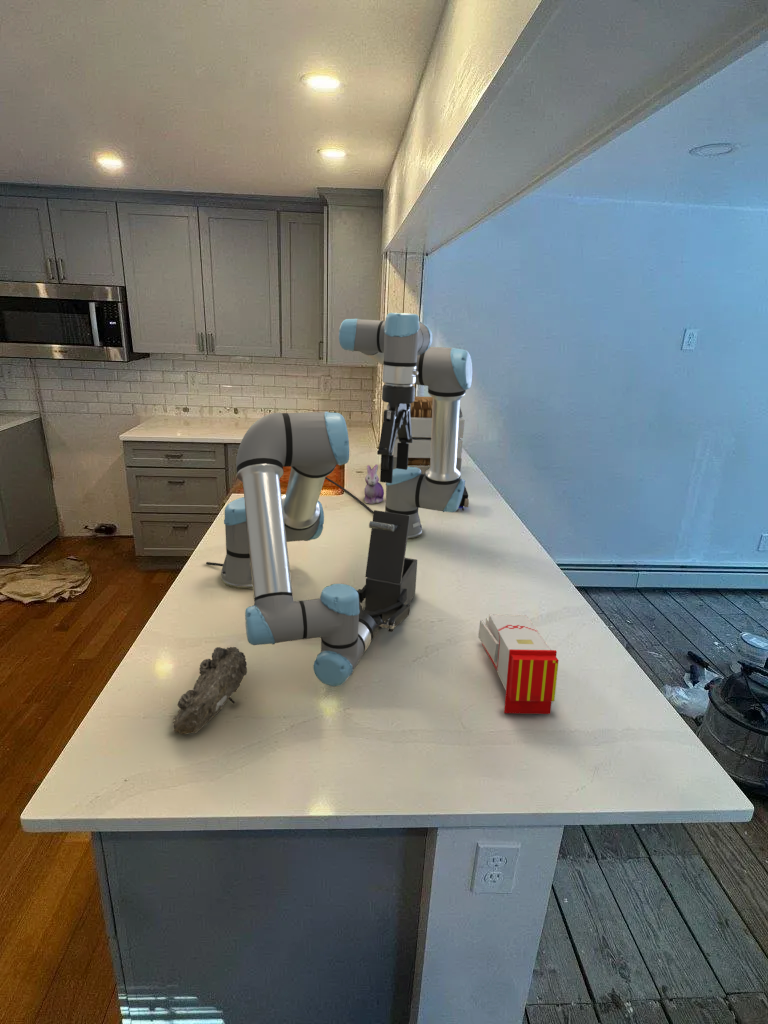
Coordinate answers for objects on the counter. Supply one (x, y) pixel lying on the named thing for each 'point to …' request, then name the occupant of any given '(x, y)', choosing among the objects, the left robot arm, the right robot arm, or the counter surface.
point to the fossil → (211, 689)
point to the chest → (391, 588)
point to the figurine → (373, 486)
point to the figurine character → (464, 500)
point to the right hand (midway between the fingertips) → (394, 475)
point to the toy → (521, 662)
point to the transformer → (424, 434)
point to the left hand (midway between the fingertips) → (386, 590)
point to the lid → (387, 546)
